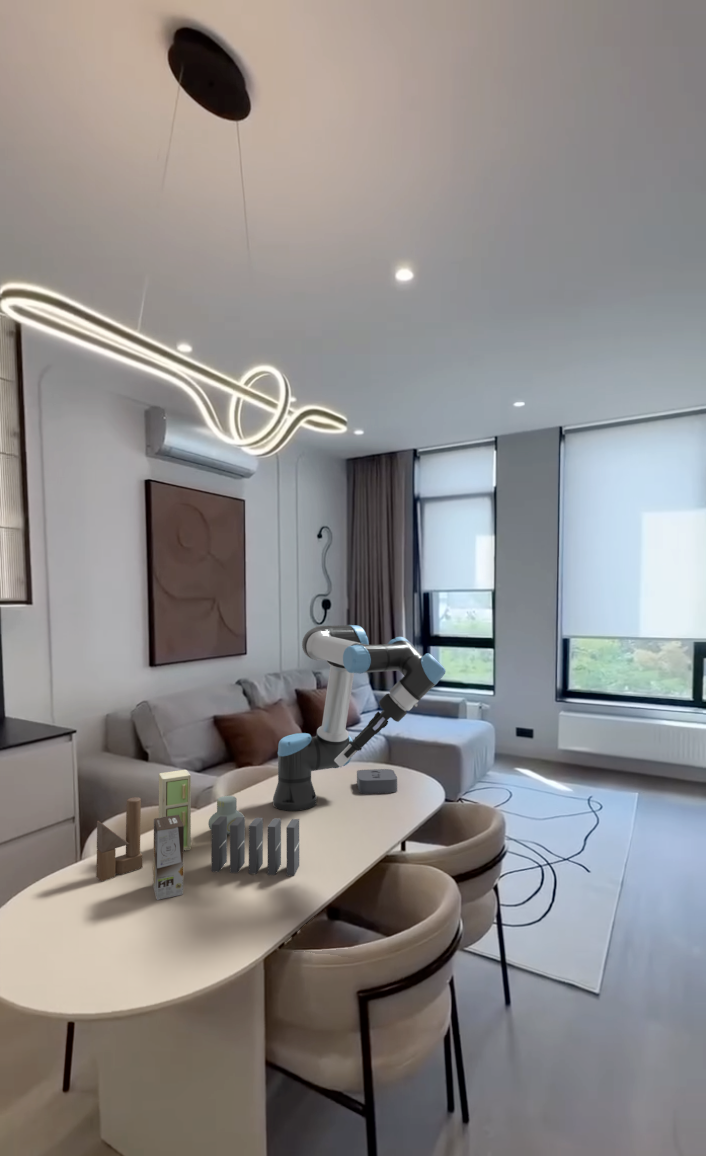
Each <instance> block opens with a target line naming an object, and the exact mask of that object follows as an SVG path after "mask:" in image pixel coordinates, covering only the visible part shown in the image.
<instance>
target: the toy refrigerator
mask: <svg viewBox="0 0 706 1156" xmlns="http://www.w3.org/2000/svg"><path fill="white" fill-rule="evenodd" d="M191 780H192V779H191V773H190V772H189V771H188V770H187V769H179V770H174V771H173V770H172V771H166V772H160V773H158V818H162V817H166V816H172V815H179V816H180V819H181V821H182V823H183V825H184V850H185V851H189V849H190V850H191V849H192V848H191V847H192V844H191V843H192V841H191V840H192V838H191V836H192V834H191V830H192V828H191V827H192V826H191V825H192V820H191V808H192V806H191V805H192V804H191V803H192V802H191V801H192V800H191V798H192V797H191V795H192V793H191V791H192V789H191V787H192V786H191V785H192V784H191V783H192V781H191Z"/></svg>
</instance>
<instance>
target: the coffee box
mask: <svg viewBox="0 0 706 1156" xmlns="http://www.w3.org/2000/svg"><path fill="white" fill-rule="evenodd" d="M184 855H185V853H184V825H183V823H182V821H181V819H180V816H179V815H172V816H166V817H162V818H159V817H157V818H153V859H152V860H153V863H152V864H153V869H152V873H153V877H152V879H153V881H152V885H153V890H154V895H155V899H156V901H157V900H158V901H159V900H163V899H169V898H172V897H178V896H182V895H183V894H184V859H185V858H184V857H185V856H184Z"/></svg>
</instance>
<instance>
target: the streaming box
mask: <svg viewBox="0 0 706 1156" xmlns="http://www.w3.org/2000/svg"><path fill="white" fill-rule="evenodd" d="M356 786H358V787H357V789H358V792H359V793H360V794H364V795H367V794H370V795H372V794H373V793H375V794H392V793H391V792H394V793H397V792H398V777H397V774H396V773H395V771H394V770H392V769H389V768H383V769H382V768H378V769H360V770H359V769H358V770H357V771H356ZM396 791H397V792H396Z"/></svg>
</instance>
